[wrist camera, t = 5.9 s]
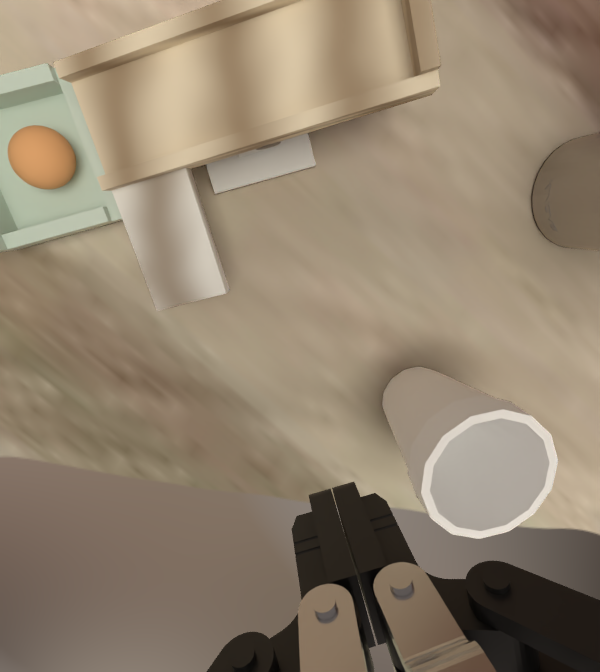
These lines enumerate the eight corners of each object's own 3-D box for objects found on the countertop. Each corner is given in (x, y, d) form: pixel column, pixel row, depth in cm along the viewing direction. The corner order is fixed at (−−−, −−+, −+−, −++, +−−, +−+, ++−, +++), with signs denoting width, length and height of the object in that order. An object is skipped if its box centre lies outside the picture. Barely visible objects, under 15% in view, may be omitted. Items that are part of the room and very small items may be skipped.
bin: (81, 75, 32) (39, 37, 25) (133, 217, 34) (108, 217, 28) (-47, 109, 31) (-125, 79, 24) (17, 249, 34) (-38, 258, 27)
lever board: (403, -30, 26) (418, -81, 21) (447, 229, 30) (468, 236, 25) (94, 80, 29) (44, 58, 24) (173, 299, 33) (144, 319, 28)
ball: (74, 120, 31) (32, 113, 27) (97, 179, 32) (59, 180, 28) (28, 138, 32) (-19, 133, 28) (51, 195, 33) (9, 197, 29)
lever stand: (278, 24, 32) (286, -14, 27) (313, 166, 35) (327, 157, 30) (171, 52, 32) (157, 19, 27) (215, 194, 35) (211, 190, 29)
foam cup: (371, 349, 40) (432, 409, 27) (469, 350, 41) (569, 408, 29) (361, 445, 42) (414, 542, 30) (454, 444, 43) (541, 535, 31)
